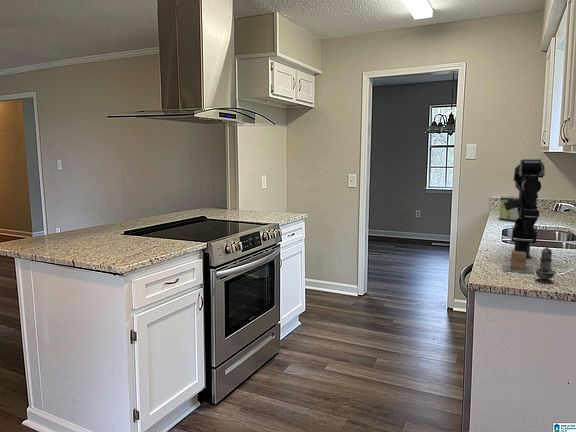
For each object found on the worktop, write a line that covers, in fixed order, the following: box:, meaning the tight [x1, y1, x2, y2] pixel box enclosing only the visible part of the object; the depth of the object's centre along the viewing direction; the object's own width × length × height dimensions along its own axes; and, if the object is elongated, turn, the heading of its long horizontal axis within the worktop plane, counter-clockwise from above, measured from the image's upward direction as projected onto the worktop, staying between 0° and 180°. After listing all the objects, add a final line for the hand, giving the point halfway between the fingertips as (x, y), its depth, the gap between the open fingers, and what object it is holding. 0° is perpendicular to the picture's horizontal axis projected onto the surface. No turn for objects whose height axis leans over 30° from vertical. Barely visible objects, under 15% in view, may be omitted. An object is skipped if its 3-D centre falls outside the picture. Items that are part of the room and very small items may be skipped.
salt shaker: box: [534, 245, 556, 285], centre depth 146 cm, size 6×6×12 cm
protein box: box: [498, 196, 519, 223], centre depth 292 cm, size 10×16×16 cm
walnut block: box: [510, 250, 527, 271], centre depth 162 cm, size 4×4×6 cm
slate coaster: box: [501, 264, 536, 275], centre depth 163 cm, size 10×10×1 cm
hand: (526, 232), depth 173 cm, fingers open, 9 cm apart
